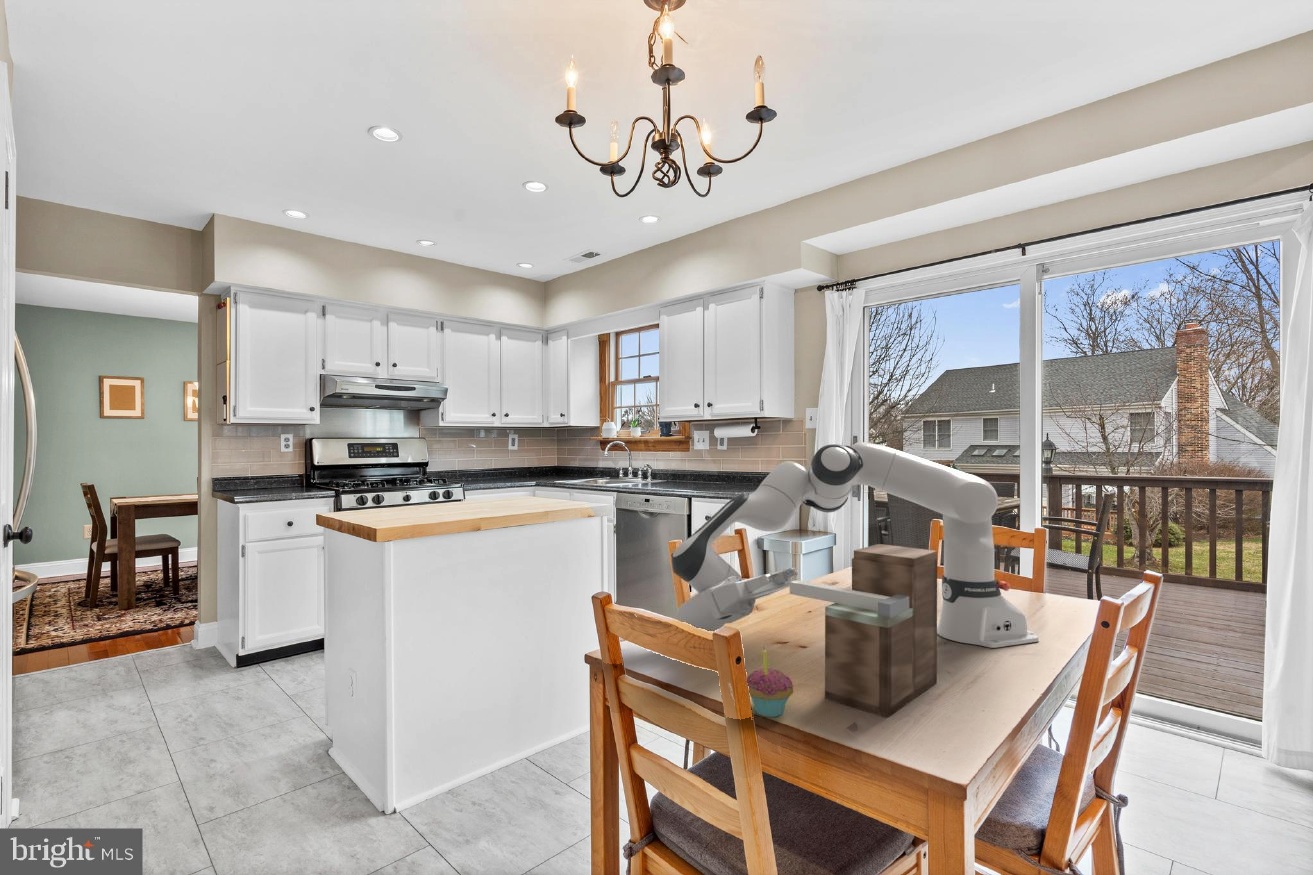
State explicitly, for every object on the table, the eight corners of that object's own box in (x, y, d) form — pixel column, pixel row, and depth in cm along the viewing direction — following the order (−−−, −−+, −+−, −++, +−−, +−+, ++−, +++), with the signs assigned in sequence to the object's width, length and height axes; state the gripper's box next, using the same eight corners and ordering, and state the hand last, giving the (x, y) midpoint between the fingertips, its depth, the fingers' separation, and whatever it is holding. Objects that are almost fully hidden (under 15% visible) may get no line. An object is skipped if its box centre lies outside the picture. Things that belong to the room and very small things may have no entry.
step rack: (824, 698, 122) (825, 558, 122) (878, 668, 138) (878, 543, 138) (887, 717, 114) (887, 567, 114) (936, 683, 130) (937, 551, 130)
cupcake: (782, 725, 111) (782, 654, 111) (736, 714, 115) (736, 645, 115) (800, 707, 118) (800, 640, 118) (756, 697, 123) (756, 633, 123)
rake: (781, 596, 130) (781, 584, 130) (803, 589, 136) (803, 577, 136) (889, 618, 115) (890, 604, 115) (909, 609, 120) (909, 596, 120)
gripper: (767, 603, 149) (815, 581, 140) (710, 621, 134) (759, 597, 126) (756, 577, 151) (802, 553, 143) (698, 592, 136) (746, 566, 128)
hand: (782, 574), depth 134 cm, fingers open, 8 cm apart
